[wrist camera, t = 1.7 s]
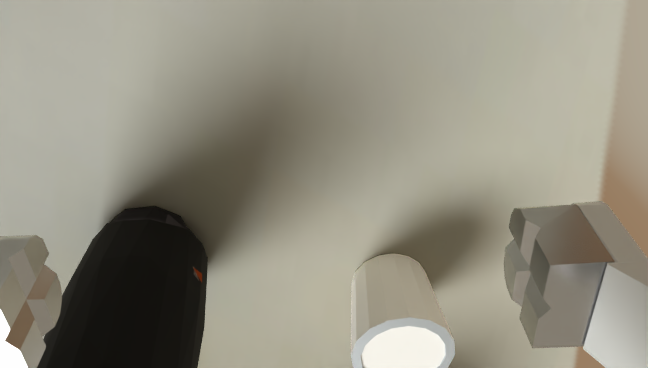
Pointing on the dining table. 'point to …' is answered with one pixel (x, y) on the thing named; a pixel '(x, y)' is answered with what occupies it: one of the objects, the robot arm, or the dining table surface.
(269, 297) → the dining table surface
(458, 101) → the dining table surface
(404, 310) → the white cylinder
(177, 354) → the portable speaker
